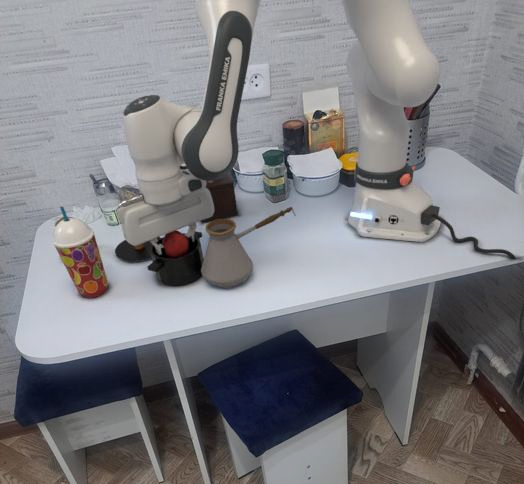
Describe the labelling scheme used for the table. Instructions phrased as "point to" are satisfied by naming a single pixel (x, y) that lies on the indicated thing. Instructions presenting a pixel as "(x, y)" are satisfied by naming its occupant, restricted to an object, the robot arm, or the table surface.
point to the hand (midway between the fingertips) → (176, 247)
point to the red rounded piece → (175, 244)
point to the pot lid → (133, 251)
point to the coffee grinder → (221, 198)
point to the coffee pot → (229, 252)
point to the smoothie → (80, 256)
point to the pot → (178, 264)
